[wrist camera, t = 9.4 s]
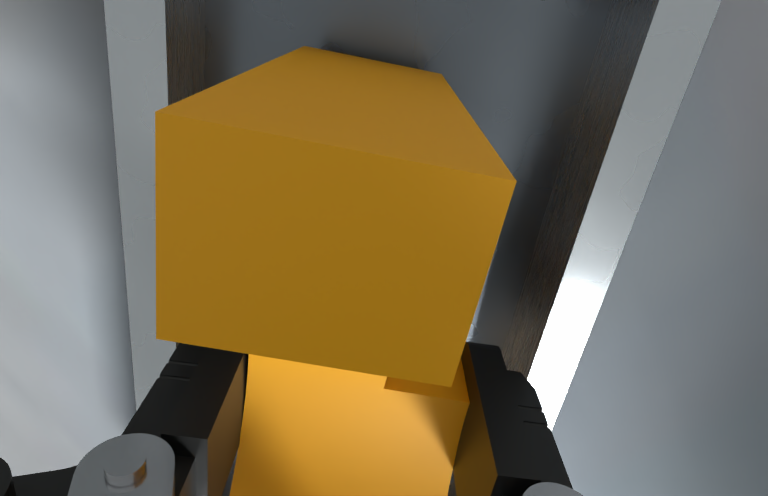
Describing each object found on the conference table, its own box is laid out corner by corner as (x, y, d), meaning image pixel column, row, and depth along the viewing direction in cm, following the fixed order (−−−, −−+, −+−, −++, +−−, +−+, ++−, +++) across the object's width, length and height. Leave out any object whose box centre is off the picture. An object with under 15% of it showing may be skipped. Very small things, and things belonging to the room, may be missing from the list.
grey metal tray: (725, -103, 10) (847, -142, 7) (487, 540, 19) (504, 631, 16) (114, -218, 9) (3, -306, 7) (158, 504, 18) (117, 592, 15)
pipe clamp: (402, 512, 15) (408, 843, 9) (253, 490, 14) (157, 818, 9) (531, 92, 10) (743, 225, 4) (304, 45, 9) (155, 111, 4)
